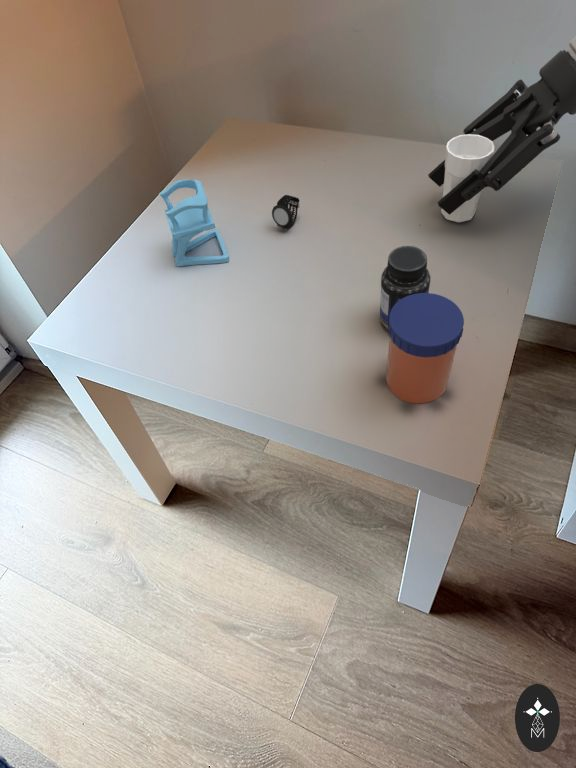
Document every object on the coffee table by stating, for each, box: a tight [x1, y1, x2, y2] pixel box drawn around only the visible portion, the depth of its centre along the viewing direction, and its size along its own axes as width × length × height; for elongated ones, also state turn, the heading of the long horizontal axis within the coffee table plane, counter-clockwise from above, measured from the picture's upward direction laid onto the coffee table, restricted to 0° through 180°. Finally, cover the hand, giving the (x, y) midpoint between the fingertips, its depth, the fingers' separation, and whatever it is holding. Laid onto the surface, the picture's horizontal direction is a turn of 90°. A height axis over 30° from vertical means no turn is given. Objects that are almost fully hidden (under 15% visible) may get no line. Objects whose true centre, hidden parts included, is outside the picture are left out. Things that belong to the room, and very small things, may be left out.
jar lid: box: [388, 292, 465, 358], centre depth 60 cm, size 8×8×2 cm
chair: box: [158, 179, 230, 267], centre depth 82 cm, size 8×8×12 cm
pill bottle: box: [378, 245, 432, 332], centre depth 69 cm, size 6×6×11 cm
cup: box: [440, 134, 495, 223], centre depth 81 cm, size 7×7×11 cm
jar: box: [385, 336, 458, 404], centre depth 64 cm, size 8×8×11 cm
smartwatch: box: [271, 194, 301, 230], centre depth 86 cm, size 4×5×5 cm
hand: (438, 194), depth 83 cm, fingers closed on cup, 7 cm apart
